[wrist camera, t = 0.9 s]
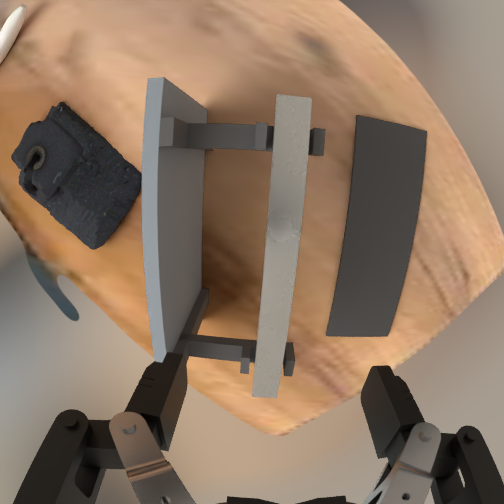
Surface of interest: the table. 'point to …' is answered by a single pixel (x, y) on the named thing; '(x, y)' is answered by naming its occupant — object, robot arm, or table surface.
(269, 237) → the rail
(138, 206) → the table surface
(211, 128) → the rail stand
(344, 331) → the mat
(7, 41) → the banana
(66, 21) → the table surface
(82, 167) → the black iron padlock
